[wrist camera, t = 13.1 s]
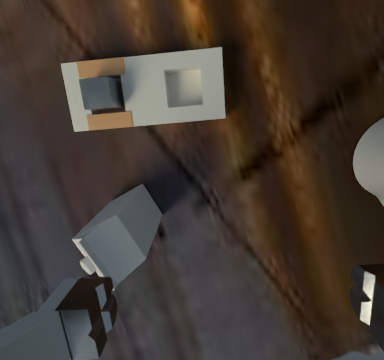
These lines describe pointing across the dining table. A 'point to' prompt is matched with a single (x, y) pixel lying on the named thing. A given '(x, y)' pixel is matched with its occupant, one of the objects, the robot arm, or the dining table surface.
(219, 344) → the dining table surface
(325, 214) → the dining table surface
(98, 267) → the milk carton
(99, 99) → the dark gray block
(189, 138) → the dining table surface
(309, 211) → the dining table surface
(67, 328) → the robot arm
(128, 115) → the socket rail
